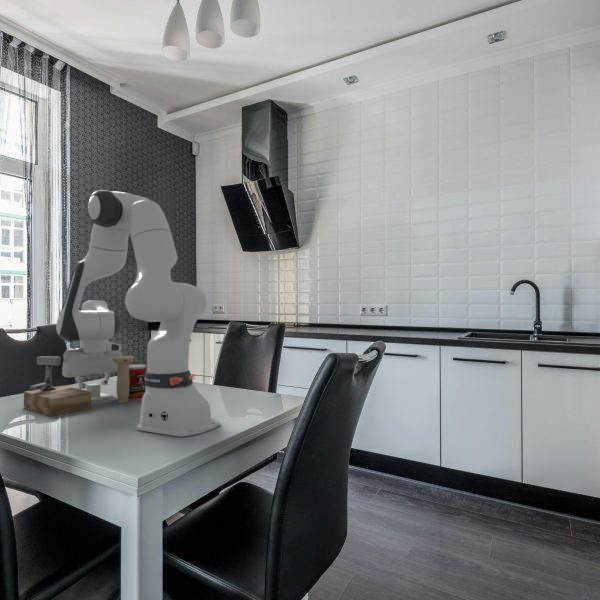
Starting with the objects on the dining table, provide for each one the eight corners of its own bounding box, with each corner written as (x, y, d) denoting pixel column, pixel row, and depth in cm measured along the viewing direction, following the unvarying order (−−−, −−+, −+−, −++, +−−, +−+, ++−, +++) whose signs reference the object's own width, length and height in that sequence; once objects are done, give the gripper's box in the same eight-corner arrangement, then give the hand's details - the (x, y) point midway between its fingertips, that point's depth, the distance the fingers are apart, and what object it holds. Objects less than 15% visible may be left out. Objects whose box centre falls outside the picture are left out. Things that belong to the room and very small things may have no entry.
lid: (112, 398, 146) (113, 383, 146) (87, 403, 138) (87, 388, 138) (98, 395, 151) (98, 381, 151) (73, 400, 143) (73, 385, 143)
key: (43, 393, 127) (43, 359, 127) (22, 392, 128) (23, 359, 128) (61, 388, 135) (62, 356, 135) (41, 387, 136) (42, 356, 136)
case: (91, 407, 131) (91, 391, 131) (51, 416, 121) (51, 398, 121) (63, 400, 140) (63, 385, 140) (23, 407, 130) (24, 391, 130)
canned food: (130, 400, 141) (130, 368, 141) (117, 397, 146) (118, 366, 146) (150, 396, 147) (150, 365, 147) (137, 393, 152) (138, 363, 152)
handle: (110, 402, 139) (111, 357, 139) (130, 399, 142) (131, 355, 143) (114, 405, 135) (115, 358, 135) (135, 402, 139) (135, 357, 139)
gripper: (68, 350, 134) (68, 393, 134) (125, 345, 152) (125, 383, 151) (58, 348, 138) (57, 390, 138) (115, 344, 155) (114, 381, 155)
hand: (93, 386), depth 145 cm, fingers open, 7 cm apart
